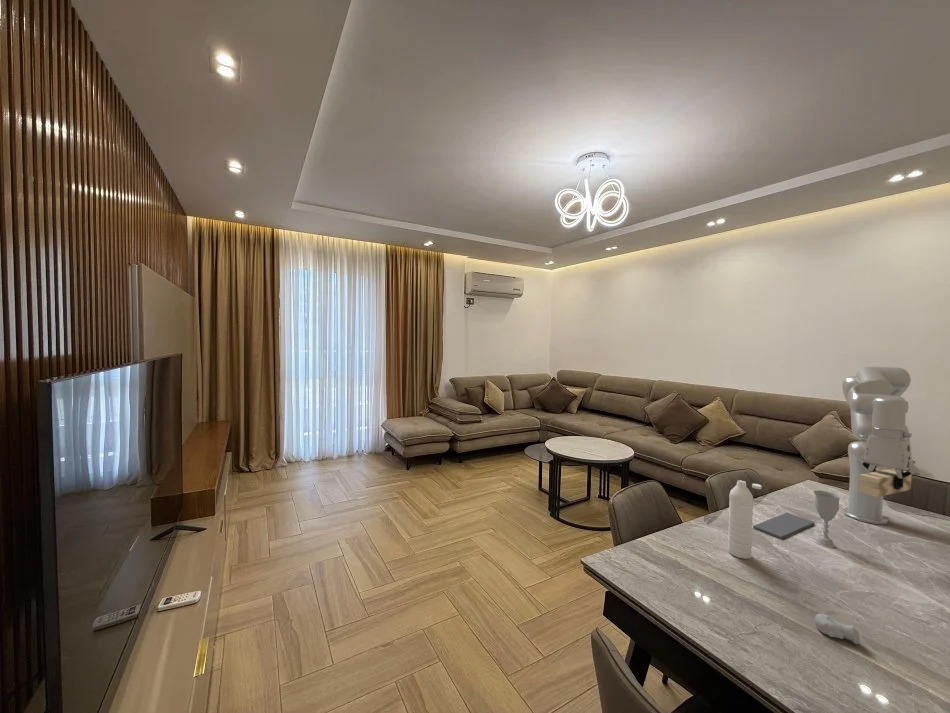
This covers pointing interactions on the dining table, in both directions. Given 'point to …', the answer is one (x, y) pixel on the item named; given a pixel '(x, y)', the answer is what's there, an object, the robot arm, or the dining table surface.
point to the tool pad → (783, 525)
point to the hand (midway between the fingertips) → (885, 485)
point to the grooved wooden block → (882, 483)
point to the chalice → (826, 513)
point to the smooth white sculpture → (836, 628)
